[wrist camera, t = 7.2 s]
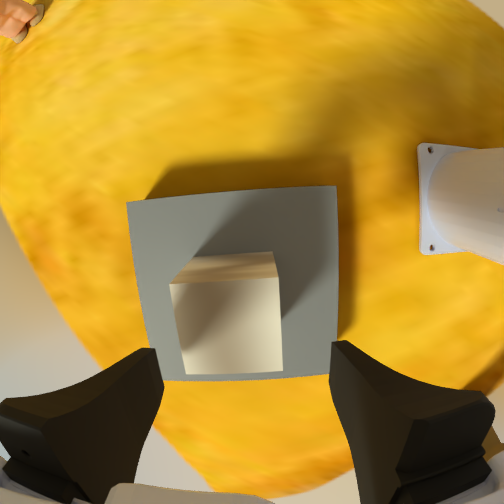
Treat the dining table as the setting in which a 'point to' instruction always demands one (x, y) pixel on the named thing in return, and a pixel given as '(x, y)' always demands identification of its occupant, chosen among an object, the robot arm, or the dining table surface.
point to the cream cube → (229, 314)
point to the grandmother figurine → (18, 18)
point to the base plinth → (236, 242)
